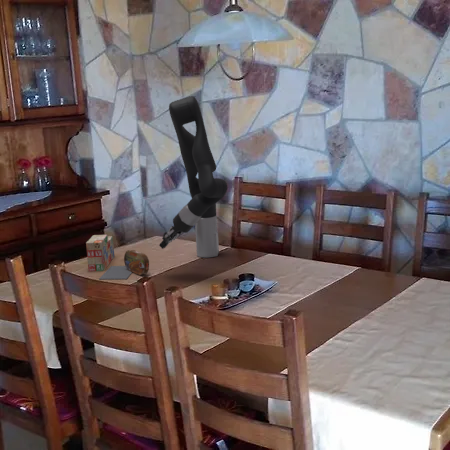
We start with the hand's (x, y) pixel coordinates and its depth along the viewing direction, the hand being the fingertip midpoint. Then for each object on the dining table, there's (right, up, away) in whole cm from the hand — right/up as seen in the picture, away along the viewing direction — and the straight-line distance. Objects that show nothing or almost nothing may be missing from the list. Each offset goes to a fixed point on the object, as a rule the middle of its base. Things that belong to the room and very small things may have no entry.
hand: (161, 246), depth 244 cm
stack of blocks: (-27, -8, +22) cm, 36 cm away
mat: (-18, -11, +8) cm, 23 cm away
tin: (-11, -11, +8) cm, 17 cm away
